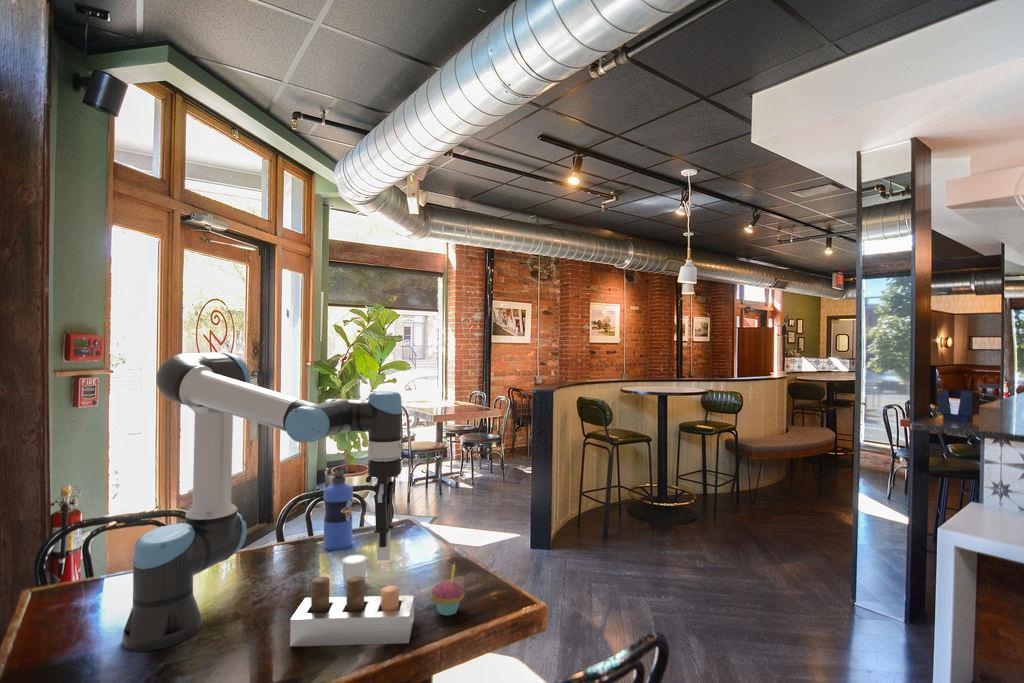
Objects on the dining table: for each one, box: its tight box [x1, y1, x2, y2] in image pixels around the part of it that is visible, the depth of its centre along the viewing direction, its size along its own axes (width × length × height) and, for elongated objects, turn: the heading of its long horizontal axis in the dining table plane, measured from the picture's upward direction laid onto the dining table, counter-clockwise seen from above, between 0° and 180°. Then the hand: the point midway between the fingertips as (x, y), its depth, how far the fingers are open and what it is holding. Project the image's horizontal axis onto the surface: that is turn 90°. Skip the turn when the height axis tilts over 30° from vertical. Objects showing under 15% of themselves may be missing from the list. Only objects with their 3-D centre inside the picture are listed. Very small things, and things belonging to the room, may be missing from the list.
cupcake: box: [430, 561, 466, 616], centre depth 133 cm, size 9×8×12 cm
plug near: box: [310, 576, 331, 613], centre depth 123 cm, size 4×4×7 cm
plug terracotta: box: [380, 585, 400, 611], centre depth 124 cm, size 4×4×7 cm
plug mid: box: [345, 576, 365, 612], centre depth 123 cm, size 4×4×7 cm
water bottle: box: [323, 469, 354, 552], centre depth 177 cm, size 9×9×25 cm
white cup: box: [341, 553, 368, 588], centre depth 149 cm, size 7×7×7 cm
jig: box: [289, 595, 415, 648], centre depth 123 cm, size 26×10×6 cm, turn 94°
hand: (383, 558), depth 124 cm, fingers closed
